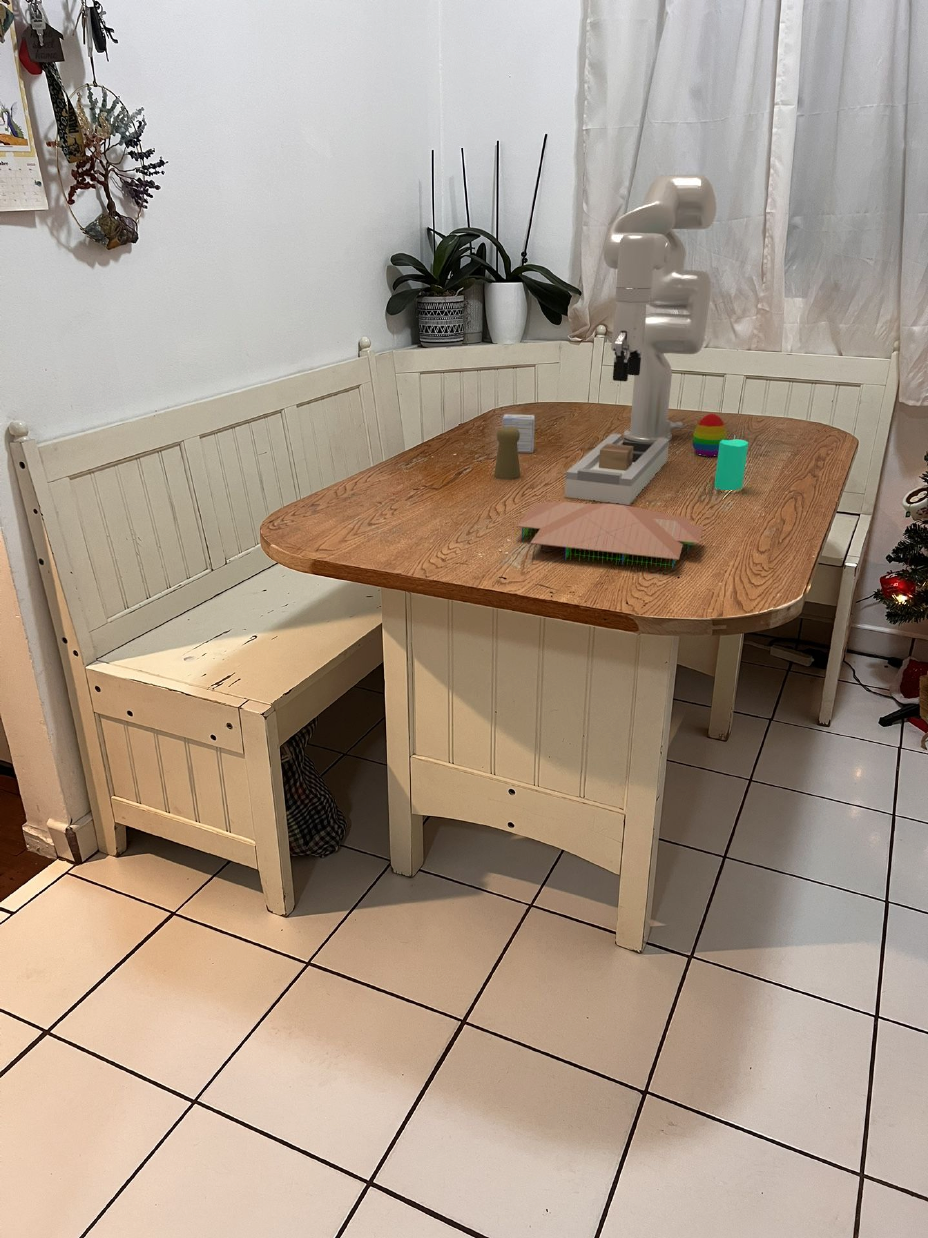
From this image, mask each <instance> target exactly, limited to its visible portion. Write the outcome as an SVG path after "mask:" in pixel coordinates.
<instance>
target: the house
mask: <svg viewBox="0 0 928 1238" xmlns="http://www.w3.org/2000/svg"><path fill="white" fill-rule="evenodd" d="M690 521H691V518H690V517H686V516H680V515H677V514H669V513H665V512H662V511H661V512H659V511H654V510H648V509H644V508H640V507H635V506H630V505H624V504H616V503H580V502H570V501H569V502H568V501H553V502H552V501H551V502H550V501H549V502H535V503H534V504H533V505H532V506H531V508H530V509H529V510H528V511H527V513H526V514H525V515H524V516H523V517H522V518H521V520H520V521H519V522H518V524H516V528H518V527H519V528H521V540H523V539H524V533H525V531H527V530H528V531H533V529H535V530H534V531H535V532H534V537H533V538H531V540H530V544H533V545H541V546H551V547H558V548H559V547H560V548H565V551H564V552H565V553H564V555H565V556H564V561H567V559H568V557H569V555H570V557H569V558H570V559H569V561H570V560H571V558H572V557H571V556H572V550H573V549H574V550H575V551H574V553H573V555H574V556H579V559H578V561H580V560H581V558H580V557H581V556H583V557H592V561H594V558H602V560H601V561H602V562H601V564H603V563H604V562H603V561H604V559H606V560H608V559H610V560H615V564H617V563H618V561H620V560H621V565H622V564H623V561H624V560H625V561H627V562H626V566H627V565H628V563H629V561H630V562H631V564H633V562H634V558H632V559H631V560H630V559H625V557H626V558H627V556H628V555H632V556H637V557H636V558H637V559H636V560H635V562H636V563H638V562H639V563H641V565H643V560H641V561H640V560H638V556H640V557H641V556H642V557H641V558H643V557H647V558H648V557H650V558H656V560H655V562H652V561H653V559H651V561H649V562H648V561H644V563H645V567H647V564H648V563H650V564H655V565H657V564H659V565H660V567H661V566H662V565H663V566H664V565H665V566H664V568H665V567H667V565H668V566H671V567H672V568H673V566H674V563H675V560H676V561H677V560H678V561H679V560H680V557H681V553H682V550H683V549H684V548H687V550H688V549H689V550H690V548H689V546H690V547H691V546H695V544H698V545H699V544H700V542H701V537H702V534H703V531H704V530H703V529H704V525H700V524H694V523H690ZM537 530H538V531H537ZM526 535H530V533H528V532H526ZM525 539H526V541H527V540H528V538H525ZM685 545H687V546H685ZM571 549H572V550H571ZM576 550H583V551H584V553H583V554H581V553H579V554H578V553H576ZM586 550H587V551H588V552H590V551H593V552H595V551H596V552H597V551H598V552H597V556H595V553H593V555H590V554H586ZM684 550H685V549H684ZM569 552H570V553H569ZM600 552H602V553H604V552H606V553H607V555H606V557H604V556H602V557H601V556H599V553H600ZM609 553H611V556H613V554H620V555H619V556H618V557H619V558H615V557H609ZM621 554H622V555H621ZM626 555H627V556H626ZM621 556H622V557H621ZM566 558H567V559H566ZM658 558H659V559H660V558H661V559H660V561H662V559H666V560H667V559H669V561H668V563H661V562H660V563H659V562H658V561H657V559H658ZM617 560H618V561H617ZM670 560H672V564H670V563H671V561H670ZM588 561H589V562H590V559H588ZM625 561H624V562H625ZM675 564H676V563H675ZM623 565H624V564H623ZM641 565H640V566H641ZM660 567H659V568H660ZM674 567H675V566H674ZM672 568H671V569H672Z"/></svg>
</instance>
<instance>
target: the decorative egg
mask: <svg viewBox="0 0 928 1238" xmlns="http://www.w3.org/2000/svg"><path fill="white" fill-rule="evenodd" d="M722 440H728V433H727V429H726V425H725V422H724V421H723V419H721V417H720V416H719V415H717V414H714V413H709V414H707V415H705V416H704V417H703V418H701V419H700V421H698V423H697V425H696V426H695V428H694V431H693V436H692V447H693V450H694V451H695V453H696V454H697V455H698V454H701V455H706V456H714V455H718V452H719V444H720V441H722Z"/></svg>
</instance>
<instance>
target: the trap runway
mask: <svg viewBox="0 0 928 1238" xmlns="http://www.w3.org/2000/svg"><path fill="white" fill-rule="evenodd" d="M606 444H616V445H626V446H633V458H632V464H631V465H630V466H629V468H628V469H627V470H626V471H625V470H616V469H607V468H599V456H600V449H601V448H602V447H604V446H605V445H606ZM669 445H670V440H669V439H663V438H659V439H658V440H657V441H656V442H655V443H645V442H636V441H632V440H623V434H619V433H611V434H610V435H608V437H606V438H605V439H603V441H601V442H600V443H599V444H598V445H596V446H595V447H594V448H593V449H591V450H590V451H589V452H588V453H586V454H585V455H584V456H583V457H582V458H581V459H580V460H578V461H577V462H576V463H575V464H573V466H571V467H570V468H569V469H568V470H566V471H565V486H564V487H565V488H564V498H571V499H577V498H578V499H579V500H586V501H593V500H595V502H604V503H609V502H610V503H609V504H616V503H619V504H618V505H625V506H630V505H631V504H632V503H633V501H634V500H635V499H636V498H637V497H638V496H639V495H640V494H641V492H643V490H644V489H645V488H646V486H647V485H649V483H650V482H651V481H652V479H653V478H655V476H656V475H657V474H658V473H659V472H660V470H662V468H663V467H664V466H665V465H664V464H667V463H668V457H669V456H668V454H669V447H670V446H669ZM663 465H664V466H663ZM662 466H663V467H662ZM661 467H662V468H661ZM657 472H658V473H657ZM656 473H657V474H656ZM655 474H656V475H655ZM650 480H651V481H650ZM644 487H645V488H644ZM642 489H643V490H642ZM638 494H639V495H638ZM636 496H637V497H636ZM630 503H631V504H630Z"/></svg>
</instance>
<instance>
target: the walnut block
mask: <svg viewBox="0 0 928 1238" xmlns="http://www.w3.org/2000/svg"><path fill="white" fill-rule="evenodd" d="M632 458H633V446H626V445H616V444H606V445H605V446H604V447H602V448H601V449H600V456H599V468H607V469H616V470H625V471H626V470H627V469H628V468H629V466H630V465H631V464H632Z"/></svg>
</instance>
